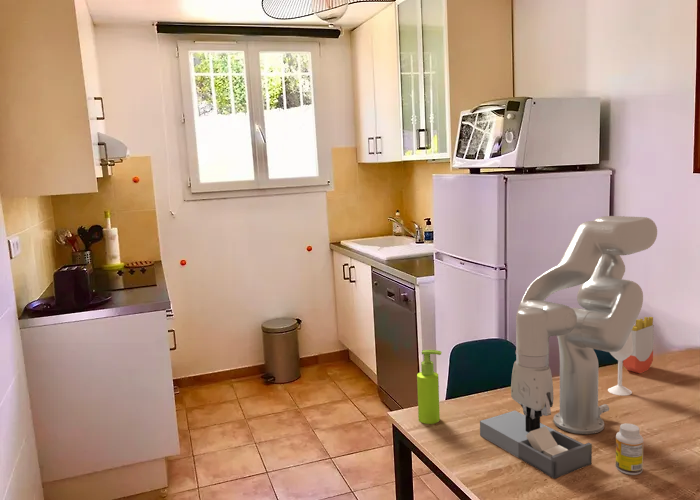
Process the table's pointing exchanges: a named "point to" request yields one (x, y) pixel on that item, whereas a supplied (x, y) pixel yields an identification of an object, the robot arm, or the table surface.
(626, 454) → the supplement bottle
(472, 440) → the table surface
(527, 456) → the box
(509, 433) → the grey box sleeve
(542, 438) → the rear tile
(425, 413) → the soap dispenser
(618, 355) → the champagne flute
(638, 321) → the french fries container
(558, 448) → the front tile
